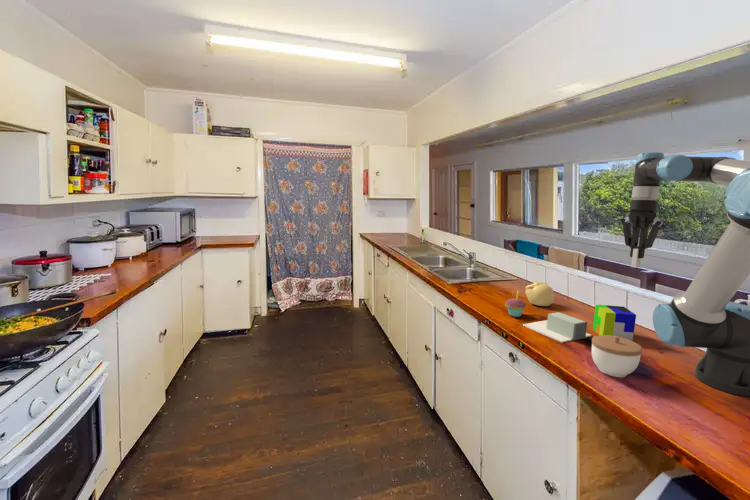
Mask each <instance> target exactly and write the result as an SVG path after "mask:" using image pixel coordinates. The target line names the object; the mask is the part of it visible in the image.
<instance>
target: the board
mask: <svg viewBox="0 0 750 500" xmlns="http://www.w3.org/2000/svg"><path fill="white" fill-rule="evenodd" d="M522 325H523V326H522V327H524V326H525V327H524V328H527V329H530V330H532V331H534V332H536V333H538V334H541V335H543V336H545V337H548V338H550V339H552V340H555V341H558V342H560V343H566V342H572V341H573V340H572V339H570V338H567V337H565V336H562V335H560V334H558V333H555V332H553V331H550V330H548V329H546V328H547V319H546V320H541V321H534V322H533V321H532V322H529V323H524V324H522ZM589 337H592V334H591V333H587V332H586V338H589Z"/></svg>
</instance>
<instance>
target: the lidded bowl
mask: <svg viewBox="0 0 750 500" xmlns="http://www.w3.org/2000/svg"><path fill="white" fill-rule="evenodd" d="M590 352H591V358H592V361H593V362H594V364H595V366H596V367H597V368H598V370H599V371H600V372H601V373H603V374H605V375H607V376H609V377H614V378H625V377H627V375H630V374H631V373H633V372H634V371H635V370H636V369H637V368H638V366H639V364H640V360H641V355H642V353H643V348H642V346H641V345H640V344H639V343H637V342H635V341H631V340H628V339H625V338H621V337H619V336H611V335H599V334H598V335H595V336H594V335H593V337H592V338H591V351H590Z"/></svg>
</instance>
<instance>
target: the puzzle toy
mask: <svg viewBox="0 0 750 500" xmlns="http://www.w3.org/2000/svg"><path fill="white" fill-rule="evenodd" d="M636 319H637V314H635V313H634V312H633V311H631V310H630V309H629V308H626V307H625V306H620V305H619V306H618V305H606V304H595V307H594V314H593V324H592V330H593V331H595V333H596V334H598V335H611V336H619V337H621V338H625V339H628V340H631V341H633V339H634V332H635V326H636V321H637V320H636ZM633 342H634V341H633Z"/></svg>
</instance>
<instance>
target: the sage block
mask: <svg viewBox="0 0 750 500" xmlns="http://www.w3.org/2000/svg"><path fill="white" fill-rule="evenodd" d="M546 320H547V328H546V329H548V330H550V331H553V332H555V333H558V334H560V335H562V336H565V337H567V338H570V339H572V341H578V340H581V339H582V340H583V339H586V338H587V337H586V333H587V329H588V322H587V321H585V320H582V319H580V318H577V317H574V316H570V315H569V314H566V313H562V312H557V311H556V312H552V313H548V314H547V319H546Z"/></svg>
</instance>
